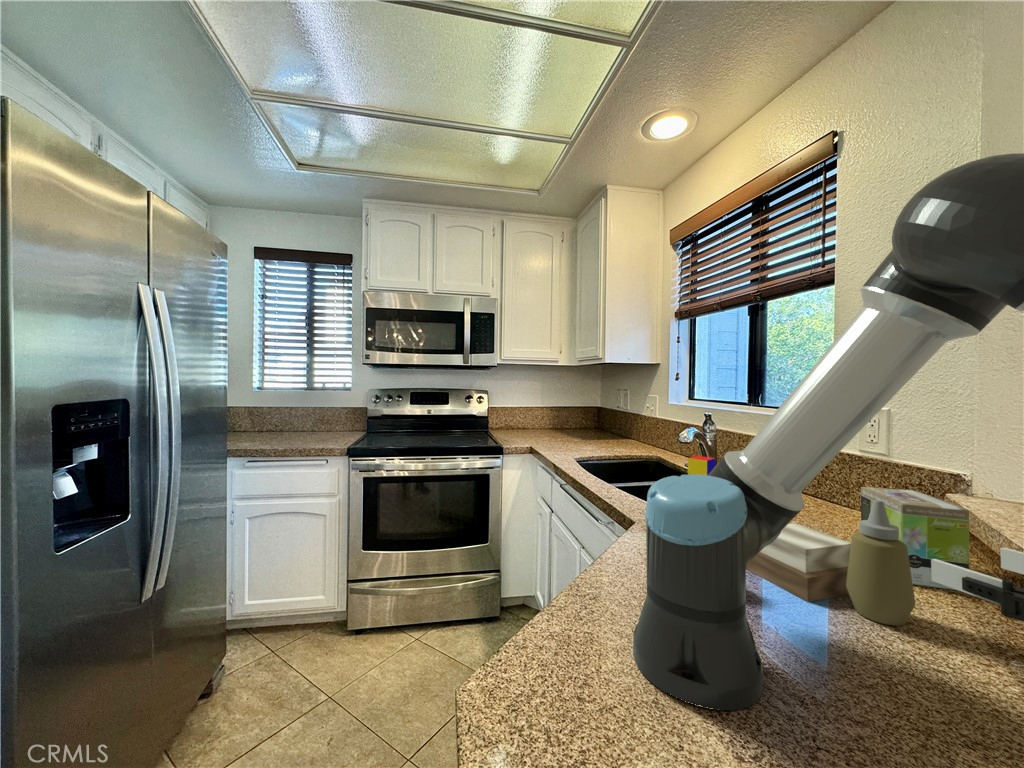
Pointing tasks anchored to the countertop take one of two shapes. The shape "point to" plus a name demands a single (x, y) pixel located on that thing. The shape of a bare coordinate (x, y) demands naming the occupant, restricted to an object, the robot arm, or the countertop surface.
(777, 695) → the countertop surface
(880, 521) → the squeeze bottle
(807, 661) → the countertop surface
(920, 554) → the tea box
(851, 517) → the countertop surface
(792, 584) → the box on wooden base
